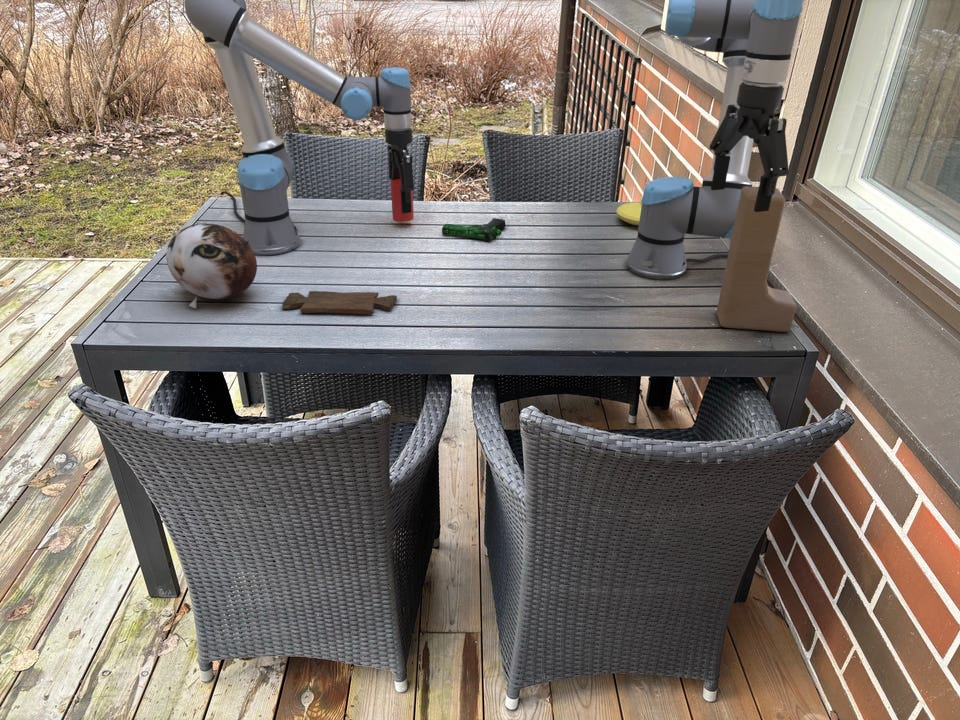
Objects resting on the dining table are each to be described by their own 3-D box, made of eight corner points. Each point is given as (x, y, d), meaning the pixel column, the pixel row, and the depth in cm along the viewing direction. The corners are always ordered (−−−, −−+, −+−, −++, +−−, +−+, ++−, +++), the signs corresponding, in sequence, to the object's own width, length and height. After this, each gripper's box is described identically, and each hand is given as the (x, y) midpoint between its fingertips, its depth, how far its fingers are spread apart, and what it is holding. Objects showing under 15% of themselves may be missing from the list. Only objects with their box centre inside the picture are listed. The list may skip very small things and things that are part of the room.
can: (411, 214, 214) (410, 177, 209) (415, 221, 209) (414, 184, 204) (391, 215, 213) (388, 179, 207) (394, 223, 208) (392, 185, 202)
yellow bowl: (629, 210, 226) (631, 188, 223) (676, 220, 218) (680, 198, 215) (606, 223, 215) (608, 200, 212) (655, 235, 207) (658, 211, 204)
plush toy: (130, 285, 161) (164, 203, 163) (192, 308, 177) (221, 233, 178) (195, 307, 151) (229, 220, 152) (254, 330, 166) (285, 250, 168)
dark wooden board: (392, 317, 161) (397, 298, 170) (391, 310, 160) (397, 291, 169) (278, 313, 161) (289, 294, 170) (277, 306, 161) (289, 287, 169)
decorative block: (790, 333, 157) (826, 200, 141) (720, 328, 158) (748, 196, 143) (782, 318, 163) (816, 189, 148) (715, 313, 165) (741, 185, 149)
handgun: (511, 219, 210) (493, 234, 198) (511, 228, 211) (492, 244, 199) (461, 212, 215) (440, 226, 203) (461, 221, 217) (440, 236, 204)
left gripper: (424, 134, 192) (426, 217, 204) (398, 119, 206) (402, 197, 218) (397, 137, 189) (402, 221, 201) (374, 122, 204) (379, 201, 215)
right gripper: (703, 72, 136) (685, 182, 147) (792, 97, 116) (764, 223, 127) (736, 71, 138) (716, 179, 149) (829, 95, 118) (798, 218, 129)
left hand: (402, 208), depth 209 cm, fingers closed on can, 6 cm apart
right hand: (738, 199), depth 138 cm, fingers open, 13 cm apart
